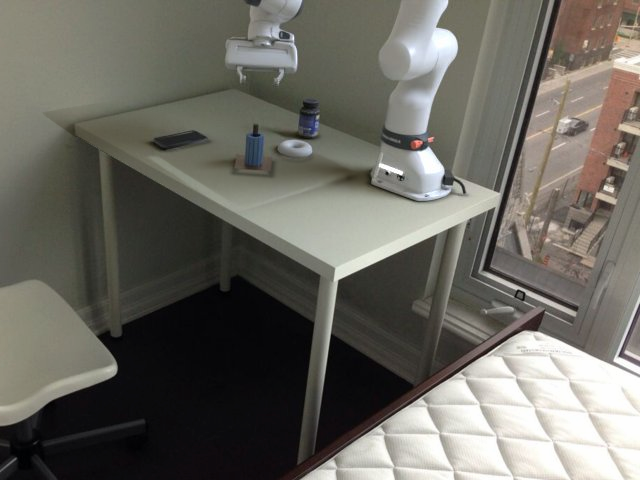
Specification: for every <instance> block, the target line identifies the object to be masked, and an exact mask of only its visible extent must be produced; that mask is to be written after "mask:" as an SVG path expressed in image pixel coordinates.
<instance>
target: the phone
mask: <svg viewBox="0 0 640 480" xmlns="http://www.w3.org/2000/svg"><path fill="white" fill-rule="evenodd" d="M203 142H204V143H205V142H208V136H206V135H204V134H203V133H201V132H199V131H197V130H195V129H193V130H188V131H183V132H178V133H173V134H168V135H163V136H162V135H161V136H157V137H153V139H152V144H154V145H155V146H157V147H159V148H160V149H161V150H162V151H169V150H173V149H177V148H181V147H186V146H190V145H195V144H200V143H203Z"/></svg>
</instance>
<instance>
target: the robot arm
mask: <svg viewBox="0 0 640 480" xmlns="http://www.w3.org/2000/svg"><path fill="white" fill-rule="evenodd" d="M243 1H244V3H245V4H247V5H249V6H250V7H249V19H250V22H249V24H248V29H247V37H245V36H243V37H242V36H240V37H238V36H231V37H229V38H227V39H226V41H225V46H224V48H225V50H226V52H225V57H224V66H225V68H226V69H227V70H233V71H234V70H235V71H236V74H237V75H238V77H239V85H246V77H247V76H246V75H244V74H243V71H248V72H250V71H251V72H260V73H261V72H262V73H277V74H278V76H277V77H274V78H273V87H278V88H279V87H280V82H281V80H282V79H283V78H284V75H285V74H288V75H290V74H291V75H294V74H295V73H296V72H297V71H298V50H297V47H296V45H295V35H294V34H293V33H291V32H288V31H286V30H283V29H281V28H280V26H281V25H282V24H286V23H288V22H290V21H293V20H294V19H296V18H298V17H299V16H300V15H301V14H302V12H303V10H304V8H305V3H306V1H305V0H243ZM448 5H449V0H401V1H400V5H399V9H398V11H397V16H396V19H395V21H394V24H393V26H392V29H391V32H390V34H389V36H388V38H387V40H386V41H385V42H384V44H383V45H382V46H381V48H380V50H379V52H378V57H377V62H378V68H379V70H380V72H381V74H382V75H383V76H384V77H385V78H387V79H389V80H391V81H398V83H397V85H396V87H395V88H394V89H393V91H392V92H391V94H390V95H389V97H388V102H387V107H386V115H385V121H384V124H383V125H382V129H381V133H380V140H381V143H380V145H379V146H380V147H379V149H378V154H377V157H376V160H375V163H374V165H373V167H372V170H371V172H370V177H371V182H370V184H371V185H372V186H375V187H378V188H381V189H384V190H385V191H388V192H392V193H394V194H397V195H400V196H402V197H406V198H408V199H411V200H413V201H416V202H428V201H435V200H438V199H441V198H444V197H447V196H448V195H449V194H450V193H451V191H452V186H454V183H455V182H456V184H459V186H460V187H461V190H462V195H465V194H467V191H466V189H467V188H466V187H465V184H464V183H463V182H462V181H461V180H459V179H458V178H456V177H455V176H454V175H453V172H452V171H451V170H450V169H445V167H444V165H443V164H442V163H441V162H440V160H439V159H438V157H437V156H436V154H435V153H434V152H433V150H432V149H431V147H430V145H431V144H430V143H432V142H434V140H433V139H434V138H435V136H432V137H429V131H428V126H429V125H428V124H429V120H430V116H431V110H432V106H433V102H434V100H435V96H436V94H437V92H438V90H439V87H440V85H441V83H442V81H443V79H444V76H445V75H446V72H447V70H448V68H449V66H450V65H451V64H452V62H454V60H455V58H456V57H457V54H458V51H459V50H458V49H459V45H458V40H457V38H456V36H455V35H454V34H453V32H452V31H451V30H448V29H446V28H442V27H437V26H438V24H439V21H440V18H441V16H442V15H443V13H444V12H445V11H446V9H447V7H448Z"/></svg>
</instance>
